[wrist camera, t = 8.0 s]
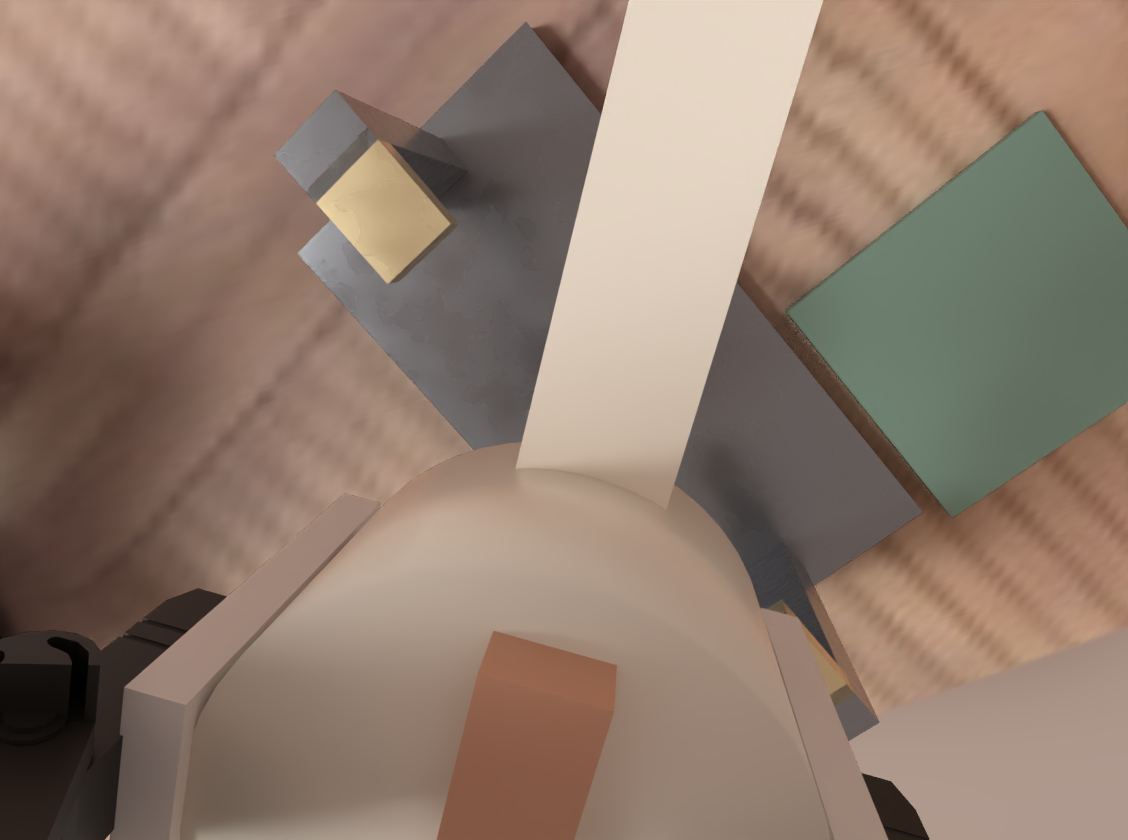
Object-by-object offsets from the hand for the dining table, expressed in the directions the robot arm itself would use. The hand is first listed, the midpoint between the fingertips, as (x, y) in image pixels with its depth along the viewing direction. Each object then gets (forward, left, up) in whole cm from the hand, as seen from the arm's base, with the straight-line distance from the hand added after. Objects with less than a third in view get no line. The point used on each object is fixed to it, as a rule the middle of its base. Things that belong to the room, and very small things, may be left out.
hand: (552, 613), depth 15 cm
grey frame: (0, 0, -25) cm, 25 cm away
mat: (+10, +16, -25) cm, 31 cm away
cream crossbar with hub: (0, 0, +1) cm, 1 cm away
